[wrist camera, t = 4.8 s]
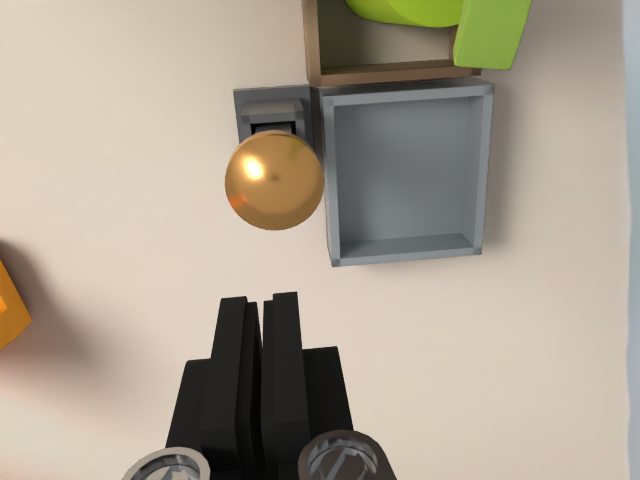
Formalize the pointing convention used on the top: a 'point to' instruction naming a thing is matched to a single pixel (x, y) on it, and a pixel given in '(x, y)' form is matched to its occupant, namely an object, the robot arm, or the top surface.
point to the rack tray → (405, 170)
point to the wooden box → (373, 71)
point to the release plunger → (274, 178)
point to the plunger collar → (274, 109)
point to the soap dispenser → (460, 25)
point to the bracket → (10, 310)
